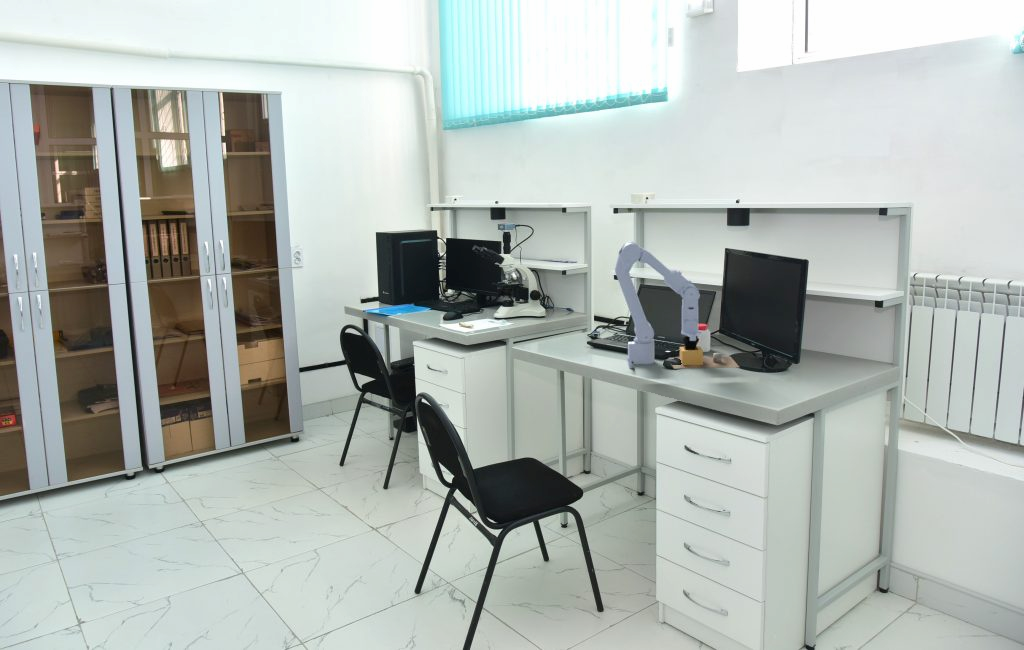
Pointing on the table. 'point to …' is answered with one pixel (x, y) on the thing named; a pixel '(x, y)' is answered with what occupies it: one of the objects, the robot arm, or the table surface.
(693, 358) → the orange open box
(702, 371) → the table surface
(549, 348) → the table surface
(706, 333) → the pill bottle
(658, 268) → the robot arm
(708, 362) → the keeper board
